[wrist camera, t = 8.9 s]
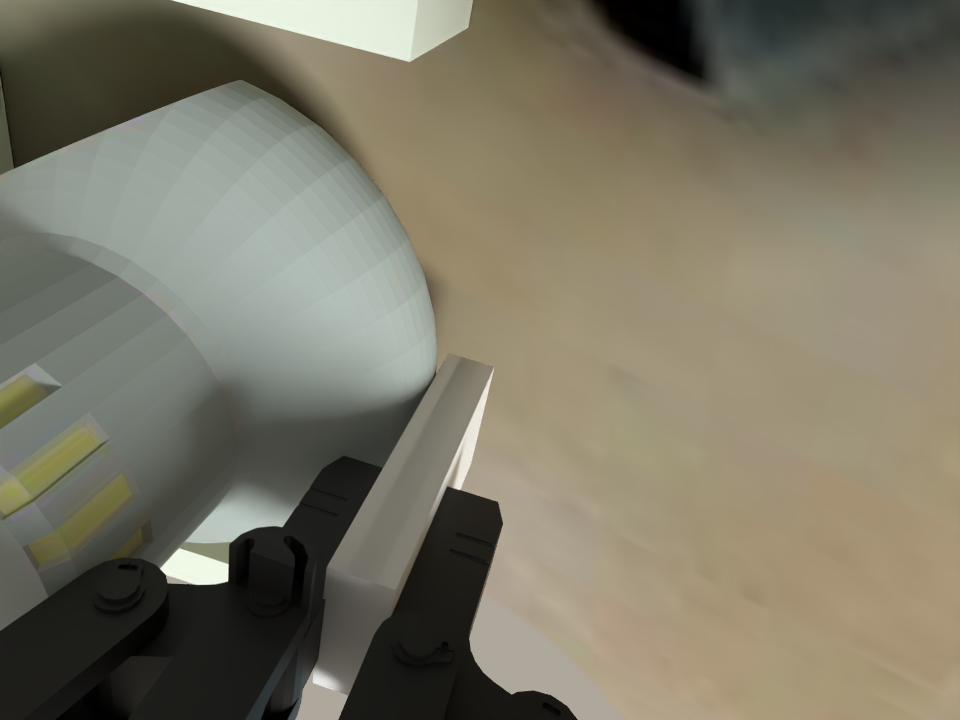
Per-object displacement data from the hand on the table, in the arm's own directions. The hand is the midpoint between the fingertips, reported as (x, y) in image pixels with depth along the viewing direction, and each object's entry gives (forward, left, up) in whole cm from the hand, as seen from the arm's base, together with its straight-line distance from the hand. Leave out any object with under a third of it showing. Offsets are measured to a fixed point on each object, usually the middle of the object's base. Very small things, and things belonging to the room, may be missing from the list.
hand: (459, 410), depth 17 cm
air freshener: (-1, -6, -3) cm, 6 cm away
